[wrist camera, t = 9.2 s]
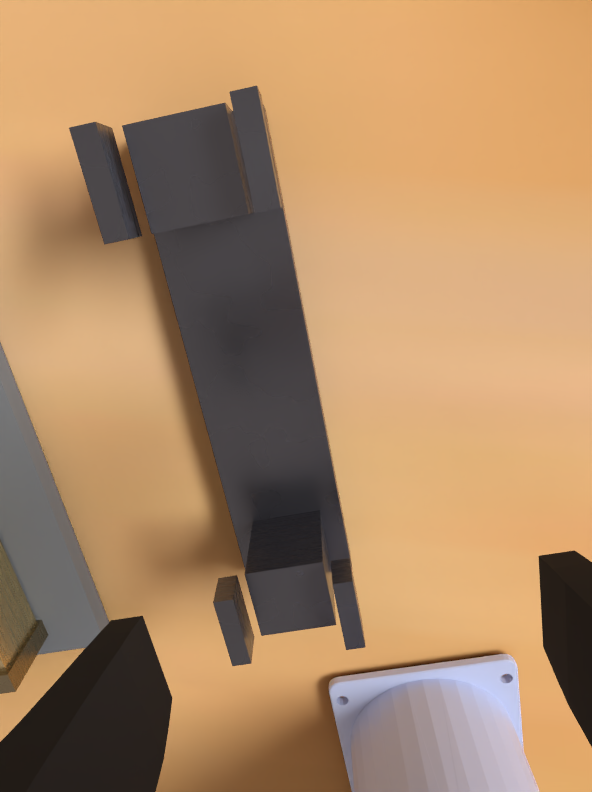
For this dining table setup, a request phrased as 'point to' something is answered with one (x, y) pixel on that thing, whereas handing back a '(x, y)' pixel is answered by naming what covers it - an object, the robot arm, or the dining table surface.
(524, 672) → the dining table surface
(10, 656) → the rail
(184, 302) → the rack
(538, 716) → the dining table surface
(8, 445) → the mat
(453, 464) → the dining table surface
